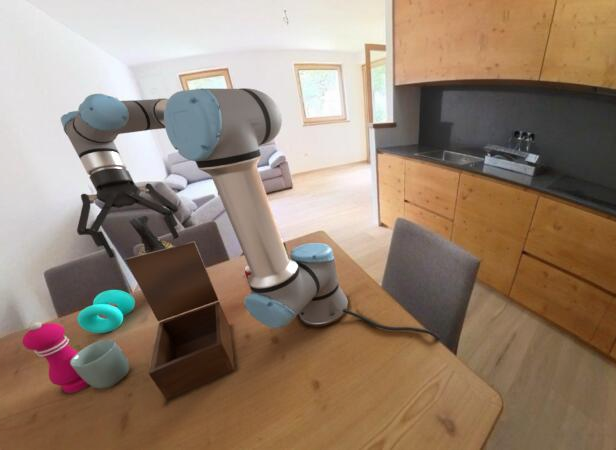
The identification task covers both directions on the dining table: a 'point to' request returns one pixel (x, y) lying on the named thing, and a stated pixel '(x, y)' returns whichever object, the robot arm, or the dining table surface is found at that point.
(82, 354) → the cup
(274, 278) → the robot arm
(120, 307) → the donuts
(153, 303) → the lid
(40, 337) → the pepper mill
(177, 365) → the chest
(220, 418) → the dining table surface
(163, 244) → the ceramic jug
